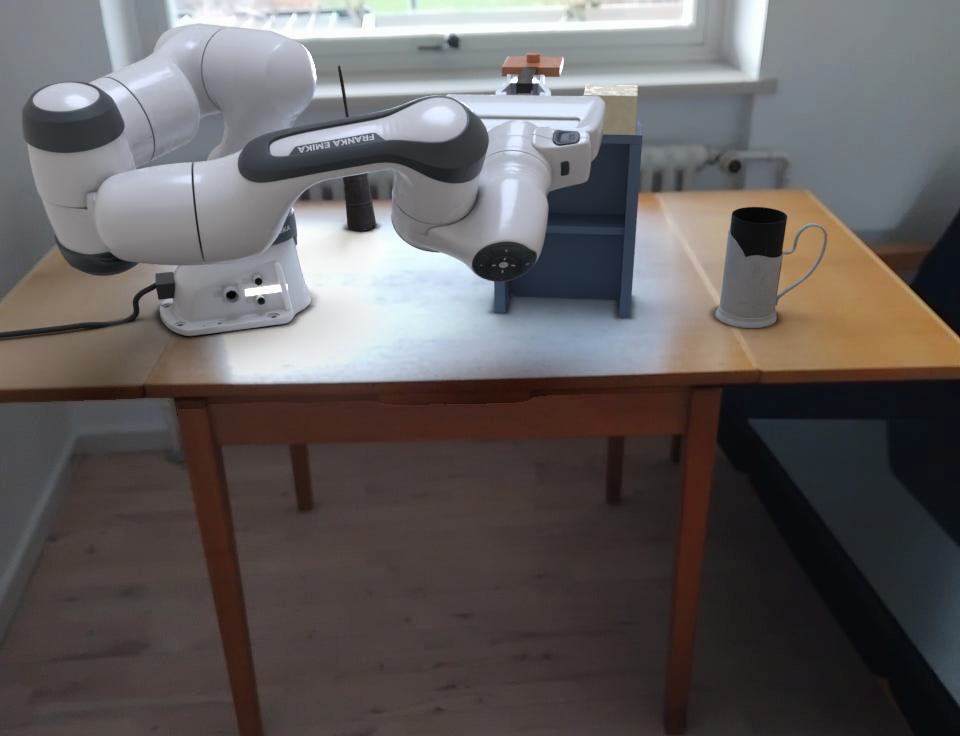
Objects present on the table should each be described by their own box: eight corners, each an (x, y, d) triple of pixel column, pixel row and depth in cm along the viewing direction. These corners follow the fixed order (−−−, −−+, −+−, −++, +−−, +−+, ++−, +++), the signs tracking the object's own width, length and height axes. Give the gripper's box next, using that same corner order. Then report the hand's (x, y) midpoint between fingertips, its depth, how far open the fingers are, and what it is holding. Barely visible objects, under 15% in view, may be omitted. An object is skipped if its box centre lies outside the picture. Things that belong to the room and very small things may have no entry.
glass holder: (711, 304, 153) (722, 205, 145) (806, 304, 153) (823, 205, 145) (720, 328, 146) (733, 225, 138) (821, 328, 145) (839, 224, 137)
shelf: (630, 317, 149) (642, 135, 136) (494, 312, 152) (493, 132, 138) (630, 297, 156) (642, 121, 142) (500, 292, 158) (499, 118, 145)
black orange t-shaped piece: (554, 94, 124) (554, 74, 123) (492, 93, 125) (492, 74, 124) (563, 66, 139) (563, 48, 138) (507, 65, 140) (507, 48, 139)
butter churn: (369, 214, 193) (357, 55, 178) (400, 225, 187) (391, 62, 172) (329, 224, 188) (313, 62, 173) (360, 236, 182) (347, 70, 167)
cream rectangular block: (635, 135, 136) (637, 95, 133) (582, 134, 137) (583, 94, 134) (635, 122, 142) (637, 84, 139) (584, 122, 142) (586, 84, 140)
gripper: (432, 177, 125) (446, 97, 131) (601, 181, 122) (606, 100, 129) (426, 138, 119) (441, 56, 126) (602, 141, 117) (608, 58, 123)
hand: (526, 78), depth 127 cm, fingers closed on black orange t-shaped piece, 2 cm apart
